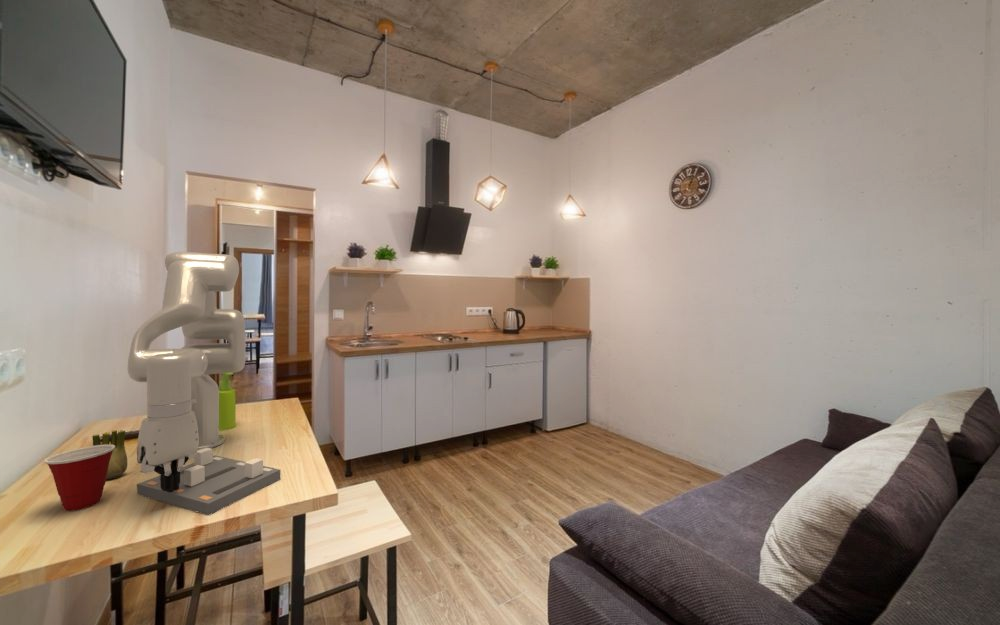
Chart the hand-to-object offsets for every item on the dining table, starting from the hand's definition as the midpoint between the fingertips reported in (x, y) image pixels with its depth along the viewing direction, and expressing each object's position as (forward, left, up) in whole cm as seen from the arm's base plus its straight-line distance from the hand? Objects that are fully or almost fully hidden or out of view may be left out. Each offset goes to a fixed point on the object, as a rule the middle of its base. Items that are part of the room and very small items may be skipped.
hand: (170, 489), depth 88 cm
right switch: (+9, +13, -1) cm, 16 cm away
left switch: (-9, +13, -1) cm, 16 cm away
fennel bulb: (-28, +3, -4) cm, 28 cm away
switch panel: (0, +9, -3) cm, 10 cm away
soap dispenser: (-38, +40, -4) cm, 55 cm away
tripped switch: (0, +5, -1) cm, 5 cm away
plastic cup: (-18, -7, -4) cm, 20 cm away
